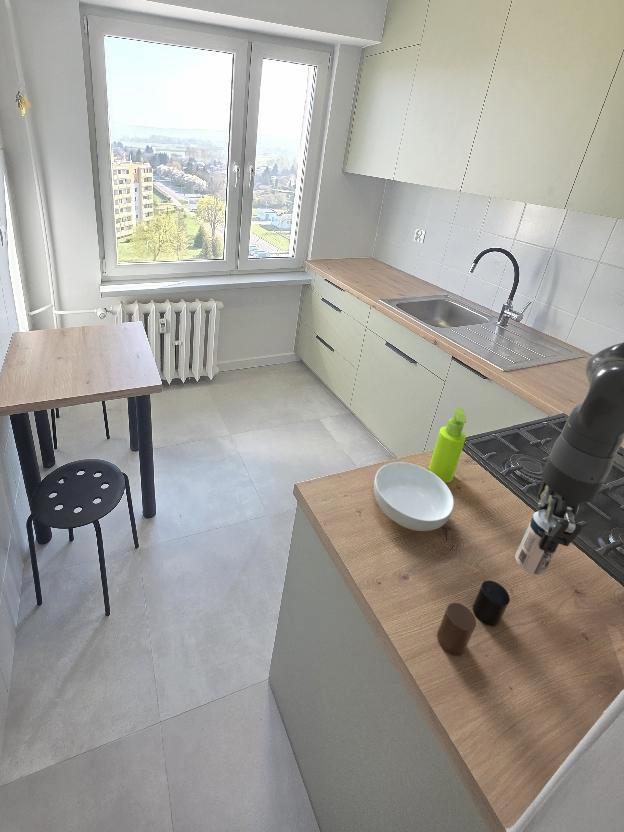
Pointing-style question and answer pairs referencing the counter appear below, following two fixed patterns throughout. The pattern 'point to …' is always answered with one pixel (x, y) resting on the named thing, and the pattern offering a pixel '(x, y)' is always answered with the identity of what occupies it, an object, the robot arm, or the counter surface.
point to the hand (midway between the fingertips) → (542, 537)
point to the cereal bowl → (413, 496)
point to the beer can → (534, 546)
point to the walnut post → (456, 629)
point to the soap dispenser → (448, 447)
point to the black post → (491, 603)
